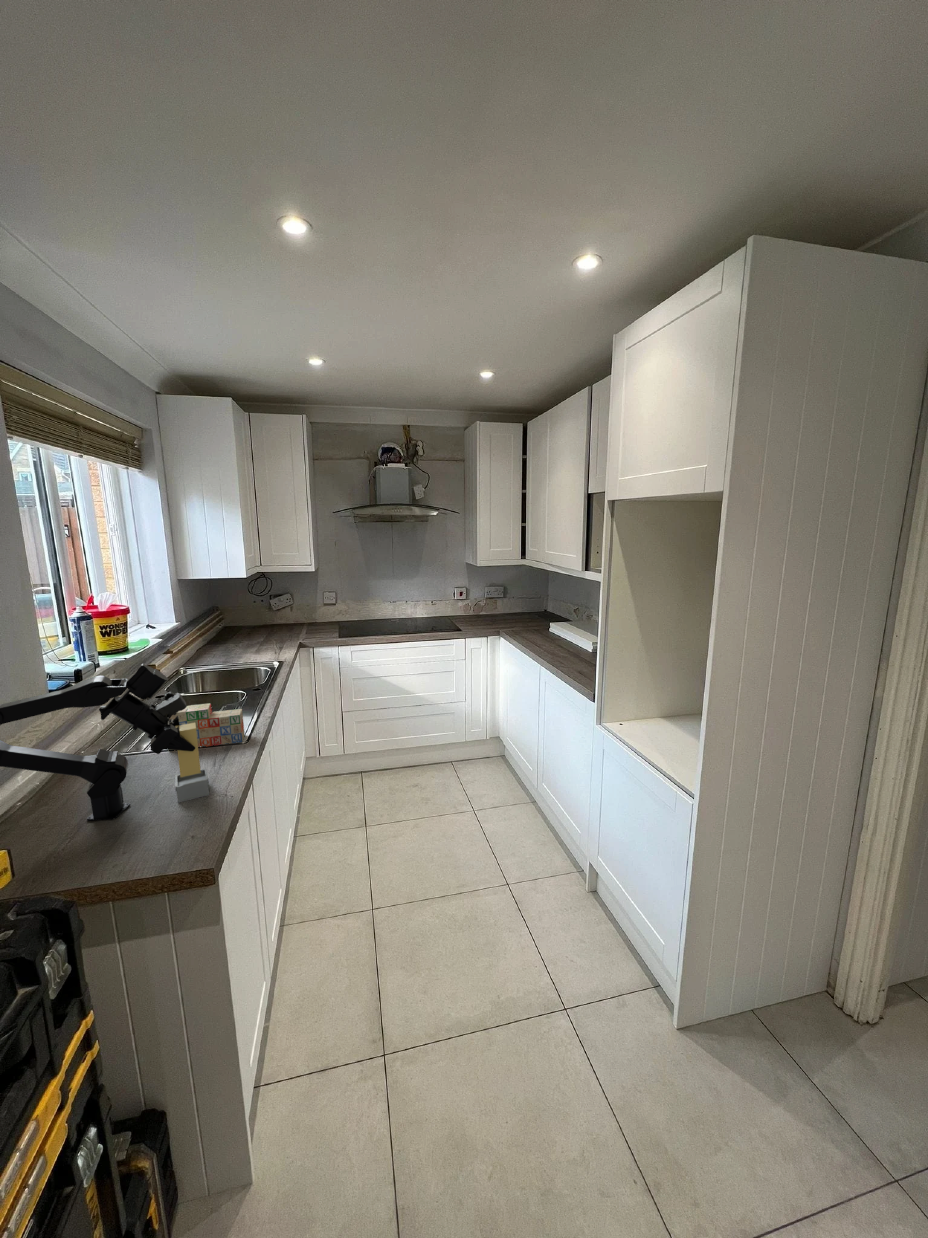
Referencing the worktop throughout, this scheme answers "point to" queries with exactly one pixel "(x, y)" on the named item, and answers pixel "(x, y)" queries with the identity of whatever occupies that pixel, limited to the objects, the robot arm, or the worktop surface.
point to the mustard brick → (189, 759)
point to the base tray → (192, 786)
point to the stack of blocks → (213, 724)
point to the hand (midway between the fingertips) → (193, 746)
